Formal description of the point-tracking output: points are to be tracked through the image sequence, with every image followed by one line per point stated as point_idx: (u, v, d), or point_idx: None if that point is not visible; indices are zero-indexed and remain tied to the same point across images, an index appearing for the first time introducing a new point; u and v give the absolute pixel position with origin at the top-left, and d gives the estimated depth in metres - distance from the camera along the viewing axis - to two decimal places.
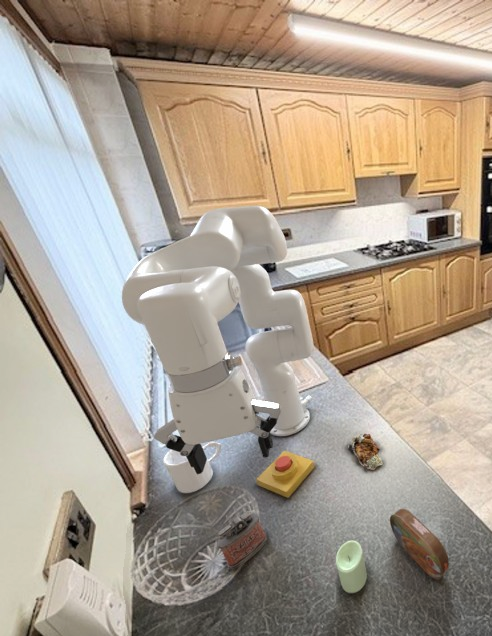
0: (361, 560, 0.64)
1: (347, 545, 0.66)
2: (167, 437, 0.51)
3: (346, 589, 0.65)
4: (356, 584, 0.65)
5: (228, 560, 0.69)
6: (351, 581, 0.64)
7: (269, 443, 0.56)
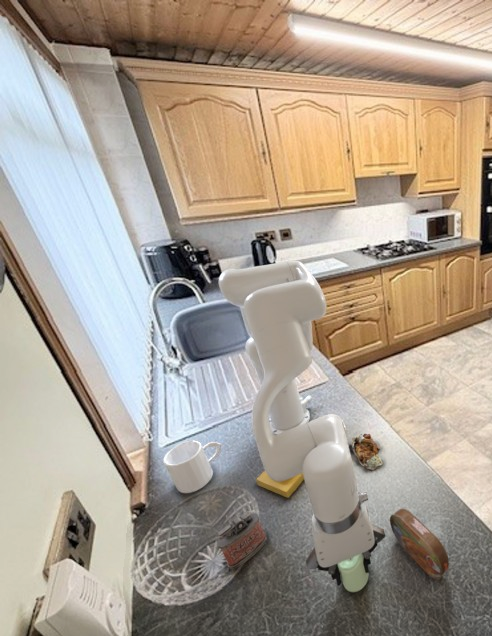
0: (362, 559, 0.64)
1: None
2: (316, 563, 0.61)
3: (348, 588, 0.65)
4: (358, 583, 0.65)
5: (228, 560, 0.69)
6: (352, 581, 0.64)
7: (369, 560, 0.66)
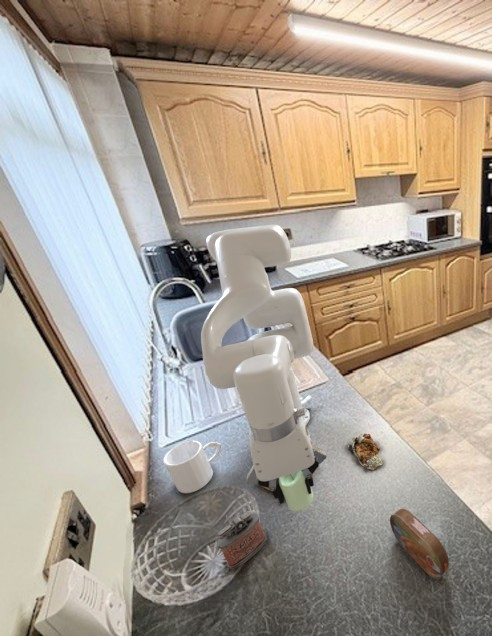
0: (303, 478, 0.66)
1: None
2: (256, 478, 0.63)
3: (291, 508, 0.67)
4: (300, 502, 0.67)
5: (228, 560, 0.69)
6: (294, 499, 0.66)
7: (312, 482, 0.68)
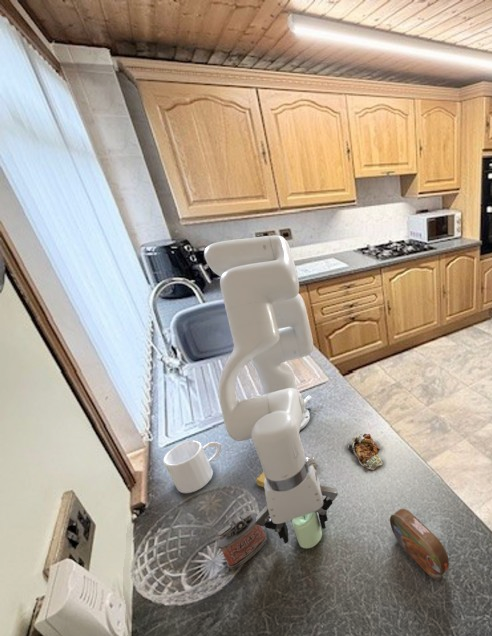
0: (314, 518, 0.72)
1: None
2: (264, 521, 0.69)
3: (301, 545, 0.73)
4: (310, 540, 0.73)
5: (228, 560, 0.69)
6: (305, 537, 0.72)
7: (326, 517, 0.74)
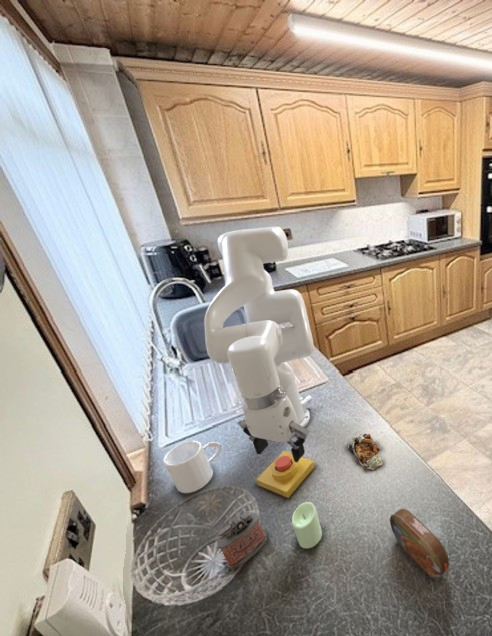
0: (314, 518, 0.72)
1: (303, 506, 0.74)
2: (244, 425, 0.77)
3: (301, 545, 0.73)
4: (310, 540, 0.73)
5: (228, 560, 0.69)
6: (305, 537, 0.72)
7: (299, 453, 0.76)
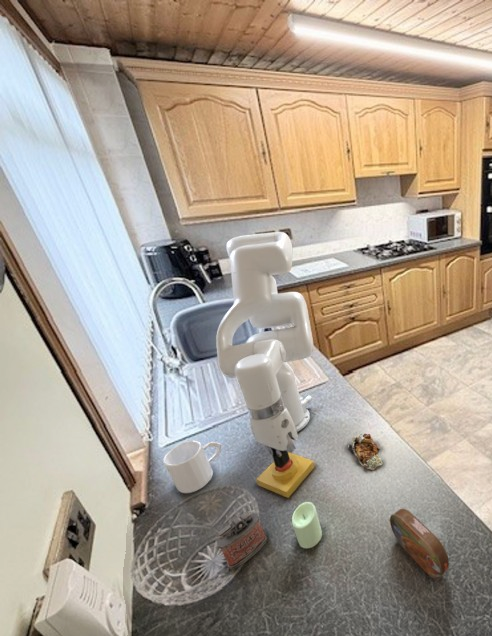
0: (314, 518, 0.72)
1: (303, 506, 0.74)
2: None
3: (301, 545, 0.73)
4: (310, 540, 0.73)
5: (228, 560, 0.69)
6: (305, 537, 0.72)
7: (282, 460, 0.86)
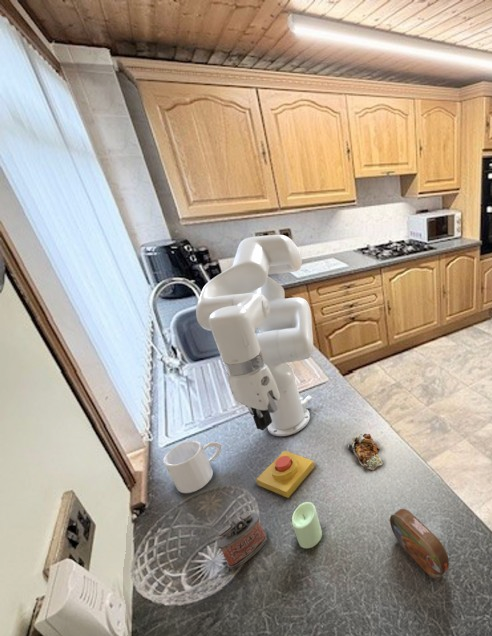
0: (314, 518, 0.72)
1: (303, 506, 0.74)
2: None
3: (301, 545, 0.73)
4: (310, 540, 0.73)
5: (228, 560, 0.69)
6: (305, 537, 0.72)
7: (264, 422, 0.81)
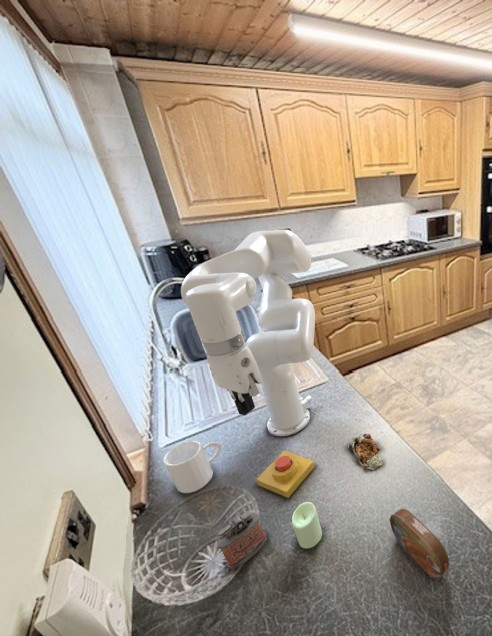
0: (314, 518, 0.72)
1: (303, 506, 0.74)
2: None
3: (301, 545, 0.73)
4: (310, 540, 0.73)
5: (228, 560, 0.69)
6: (305, 537, 0.72)
7: (246, 407, 0.79)
